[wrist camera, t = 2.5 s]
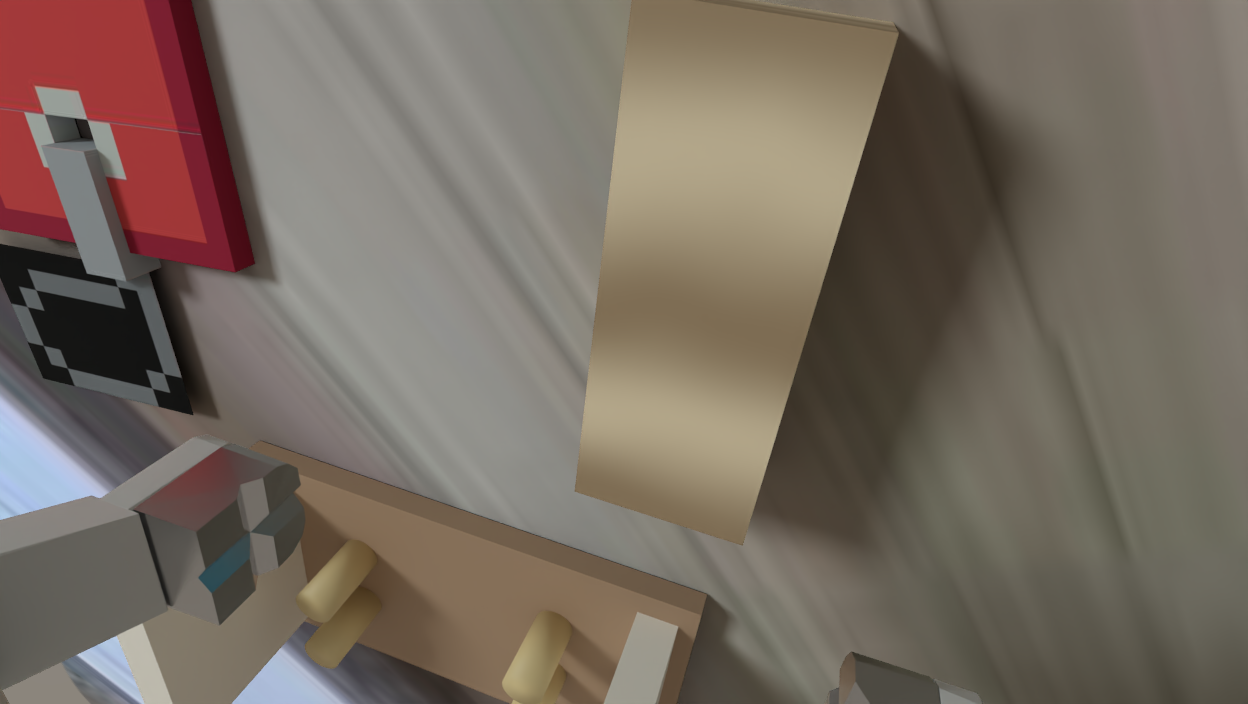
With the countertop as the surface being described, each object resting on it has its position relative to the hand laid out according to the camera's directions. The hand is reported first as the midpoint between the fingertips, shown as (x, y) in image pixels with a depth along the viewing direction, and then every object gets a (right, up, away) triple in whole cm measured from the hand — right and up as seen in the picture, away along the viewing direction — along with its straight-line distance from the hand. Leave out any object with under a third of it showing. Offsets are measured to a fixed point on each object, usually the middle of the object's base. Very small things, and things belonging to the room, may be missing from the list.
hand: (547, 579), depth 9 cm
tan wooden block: (+4, +6, +10) cm, 12 cm away
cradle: (-6, -8, +20) cm, 22 cm away
